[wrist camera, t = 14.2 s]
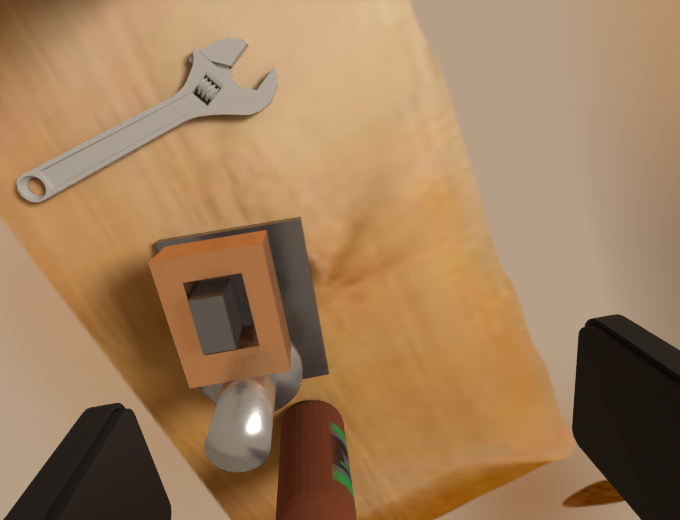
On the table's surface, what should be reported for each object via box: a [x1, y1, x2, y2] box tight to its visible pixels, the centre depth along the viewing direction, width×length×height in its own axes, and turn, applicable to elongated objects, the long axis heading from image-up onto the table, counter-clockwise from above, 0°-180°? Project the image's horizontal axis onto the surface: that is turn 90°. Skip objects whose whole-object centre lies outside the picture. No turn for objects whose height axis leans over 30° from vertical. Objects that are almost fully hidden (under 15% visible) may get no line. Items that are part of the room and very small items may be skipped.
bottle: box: [276, 400, 356, 520], centre depth 36 cm, size 7×7×25 cm
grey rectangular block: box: [188, 273, 249, 354], centre depth 35 cm, size 4×2×11 cm, turn 7°
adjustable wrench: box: [17, 38, 278, 202], centre depth 35 cm, size 25×6×2 cm, turn 112°
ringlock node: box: [148, 217, 329, 472], centre depth 35 cm, size 19×14×15 cm
